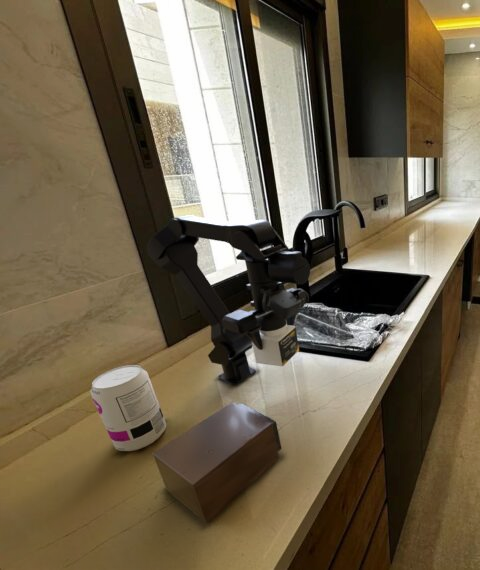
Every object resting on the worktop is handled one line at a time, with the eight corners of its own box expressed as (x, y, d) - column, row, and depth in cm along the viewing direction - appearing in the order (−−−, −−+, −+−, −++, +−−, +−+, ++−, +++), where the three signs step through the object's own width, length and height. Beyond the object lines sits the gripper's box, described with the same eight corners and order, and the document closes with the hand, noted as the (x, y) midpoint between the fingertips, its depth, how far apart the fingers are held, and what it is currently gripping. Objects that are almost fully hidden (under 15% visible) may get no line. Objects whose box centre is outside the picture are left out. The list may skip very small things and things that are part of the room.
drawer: (252, 424, 69) (246, 399, 66) (286, 444, 64) (281, 417, 62) (181, 477, 57) (171, 448, 55) (217, 505, 53) (207, 474, 50)
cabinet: (240, 435, 67) (232, 401, 64) (279, 458, 62) (272, 423, 59) (166, 490, 56) (152, 453, 53) (206, 523, 51) (192, 484, 48)
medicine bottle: (283, 367, 75) (274, 320, 71) (255, 363, 76) (245, 317, 72) (299, 350, 82) (293, 307, 77) (274, 347, 83) (266, 304, 79)
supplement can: (109, 460, 61) (79, 396, 56) (122, 429, 68) (97, 370, 63) (162, 444, 65) (139, 382, 59) (170, 416, 72) (149, 359, 66)
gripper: (249, 301, 60) (264, 371, 66) (322, 272, 76) (329, 331, 82) (213, 291, 65) (229, 357, 71) (288, 265, 81) (297, 321, 86)
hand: (275, 340), depth 77 cm, fingers closed on medicine bottle, 8 cm apart
